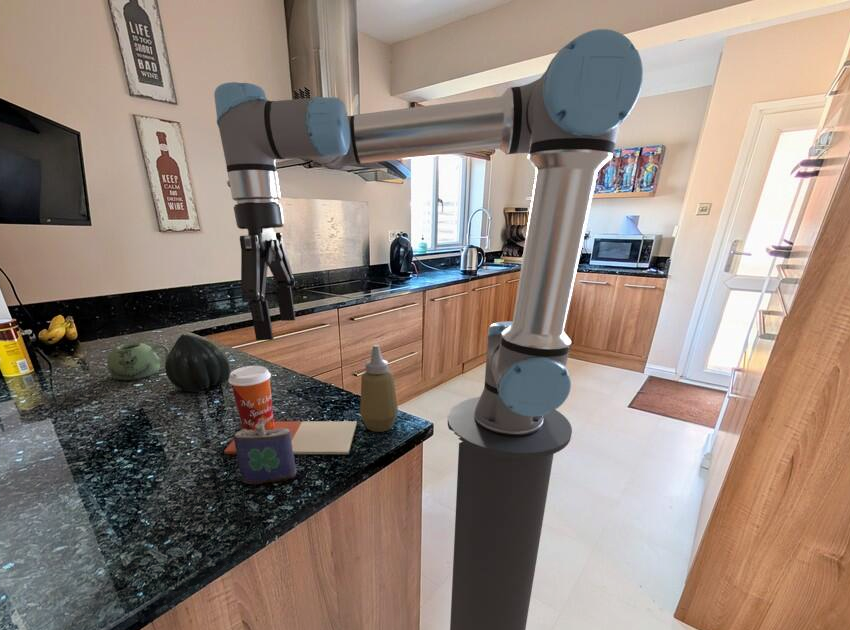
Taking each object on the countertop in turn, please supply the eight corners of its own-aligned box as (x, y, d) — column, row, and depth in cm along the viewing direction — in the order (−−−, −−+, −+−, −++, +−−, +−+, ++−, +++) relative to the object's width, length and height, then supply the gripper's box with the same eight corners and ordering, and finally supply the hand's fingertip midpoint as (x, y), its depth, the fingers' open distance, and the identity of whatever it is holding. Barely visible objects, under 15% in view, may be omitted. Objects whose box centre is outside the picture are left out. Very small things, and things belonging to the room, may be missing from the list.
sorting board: (357, 423, 85) (356, 421, 85) (348, 454, 74) (348, 451, 74) (248, 423, 86) (248, 421, 86) (224, 454, 75) (223, 451, 75)
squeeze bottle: (384, 413, 89) (381, 337, 82) (405, 427, 83) (404, 346, 76) (353, 424, 85) (348, 344, 78) (374, 439, 79) (369, 354, 72)
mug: (110, 386, 107) (100, 356, 104) (111, 372, 117) (102, 344, 114) (175, 373, 115) (168, 345, 112) (171, 361, 125) (164, 335, 122)
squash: (235, 372, 100) (217, 322, 103) (169, 387, 93) (153, 333, 96) (235, 391, 112) (219, 346, 115) (177, 406, 105) (162, 357, 108)
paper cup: (249, 449, 75) (236, 382, 70) (234, 434, 80) (221, 371, 75) (287, 435, 80) (277, 371, 74) (270, 422, 85) (260, 361, 80)
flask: (297, 470, 70) (289, 417, 65) (295, 480, 67) (286, 426, 63) (244, 474, 69) (232, 421, 64) (239, 485, 66) (227, 430, 62)
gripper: (261, 205, 76) (278, 314, 84) (196, 200, 53) (228, 350, 61) (299, 204, 75) (313, 313, 84) (251, 197, 52) (276, 349, 61)
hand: (277, 329), depth 72 cm, fingers open, 13 cm apart
